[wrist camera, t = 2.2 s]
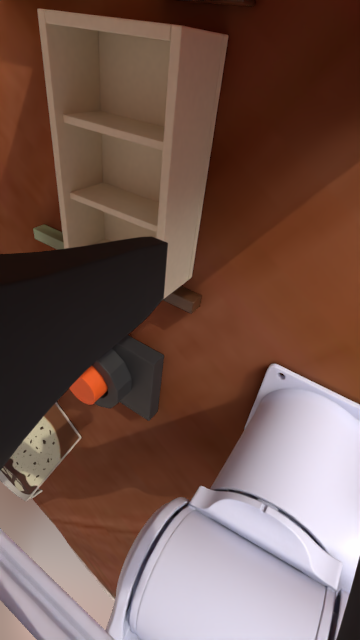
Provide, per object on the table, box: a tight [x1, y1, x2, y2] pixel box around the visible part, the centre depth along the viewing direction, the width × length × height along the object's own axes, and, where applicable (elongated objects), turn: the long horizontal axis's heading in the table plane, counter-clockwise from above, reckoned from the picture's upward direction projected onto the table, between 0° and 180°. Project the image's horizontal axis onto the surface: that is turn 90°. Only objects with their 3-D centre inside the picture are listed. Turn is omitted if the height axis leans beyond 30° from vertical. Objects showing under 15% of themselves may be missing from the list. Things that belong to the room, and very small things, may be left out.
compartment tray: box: [37, 8, 228, 299], centre depth 20 cm, size 8×13×4 cm, turn 172°
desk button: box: [70, 365, 108, 405], centre depth 31 cm, size 4×4×2 cm
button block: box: [92, 335, 164, 421], centre depth 33 cm, size 11×8×4 cm
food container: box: [0, 402, 82, 501], centre depth 47 cm, size 12×6×10 cm, turn 35°
